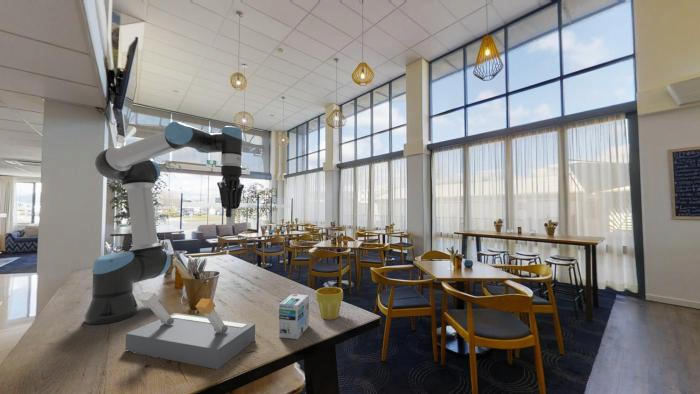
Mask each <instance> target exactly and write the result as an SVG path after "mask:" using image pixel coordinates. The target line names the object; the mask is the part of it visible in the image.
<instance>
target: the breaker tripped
mask: <svg viewBox="0 0 700 394" xmlns="http://www.w3.org/2000/svg"><path fill="white" fill-rule="evenodd" d="M195 308H196V310H197V311H198V312H199V313H200V314H204V317H207V319H208V320H209V322H210V323H211V324H212V326H213V327H214V331H216V332H223V333H225V332H226V331H227V329H228V327H227V326H225V324H224V323H223V321H222V320H221V319H222V318H221V317H220V315H219V314H218V312H217V311H216V309H215V308H216V304H215V302H214V301H213V299H211V298H203V297H202V298H200V300H199V301H198V302H197V304H196V305H195Z"/></svg>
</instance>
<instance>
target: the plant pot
mask: <svg viewBox="0 0 700 394" xmlns="http://www.w3.org/2000/svg"><path fill="white" fill-rule="evenodd" d="M343 299H344V291H343V289H342V288H341V287H336V286H326V287H320V288H318V289H316V290H315V301H316V302H317V303H318V309H319V313H320V316H321V317H320V318H321V319H323V320H335V319H337V318H338V317H339V316H340V309H341V305H342V304H341V303H342V301H343Z"/></svg>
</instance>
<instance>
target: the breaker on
mask: <svg viewBox="0 0 700 394" xmlns="http://www.w3.org/2000/svg"><path fill="white" fill-rule="evenodd" d="M138 301H139V302H141V304H143V306H146V307H148V308H149V309H150V310H151V311H152V312H153V313H154V315H155V316H156V317H157V318H158V320H159V319H160V320H161V323H164V324H172V323H173V322H174V319H173V318H171V316H170V315H171V314H169V313H168V311H167V310H166V309H165V308H164V306H163V305H162V304H161V303H160V298H159V296H158V295H157V294H156V292H152V291H151V292H149V291H146V292H145V293H144V294H143V295H142V296H140V298H139V299H138Z"/></svg>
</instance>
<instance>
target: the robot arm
mask: <svg viewBox="0 0 700 394" xmlns="http://www.w3.org/2000/svg"><path fill="white" fill-rule="evenodd" d="M183 148H192V149H194V150H196V151H197V152H199V153H200V154H201V153H202V154H209V153H221V155H220V156H221V158H220V161H221V163H220V165H221V167H220V168H221V169H220V175H221V176H222V179H221V181H218V182H216V185H217V187H218V190H219V197H220V202H221V207H222V208H223V209H224V210H225V219H226V224H225V225H226V226H235V224H236V210H238V209H239V207H240V205H241V198H242V194H243V189H244V187H245V185H244V184H243V183H242V184H241V180H240V177H242V174H243V173H242V164H243V161H242V155H243V154H242V153H243V152H242V149H243V131H242V129H241V128H240V127H237V126H233V125H225V126H223V127H221V132H218V133H216V132H215V133H210V132H208V131H206V130H202V129H199V128H197V127H193V126H192V125H188V124H186V123H183V122H179V121H171V122H169V123H168V124H167V125H166V126H165V129H164V131H161V132H159V133H156V134H153V135H150V136H148V137H144V138H143V139H142V138H141V139H139V140H136V141H134V142H131V143H128V144H126V145H123V146H121V147H119V146H111V147H109V148H107V149H104V150H103V151H102V150H101V151H100V153H98V154H97V156H96V157H95V161H94V164H95V165H94V166H95V168H96V170H97V172H98V173H99V174H100V175H101V176H103V177H104V178H106V179H109V180H113V181H121V187H122V188H124V189H125V190H126V192H127V193H126V194H127V201H128V202H127V203H128V210H129V219H130V229H131V230H130V231H131V237H132V238H131V239H132V246H131V248H130V249H129V250H128V251H119V252H112V253H108V254H104V255H101V256H99V257H97V258H96V259H95V260H94V262H93V267H92V271H91V273H92V295H91V301H90V304H89V306H88V307H87V311H86V313H85V315H84V323H85V322H86V323H85V324H86V325H87V324H88V325H105V324H111V323H116V322H119V321H123V320H126V319H129V318H131V317H133V316H135V315H136V314H138V311H139V310H138V309H139V307H138V303H137V300H136V298H135V295H134V293H133V292H134V291H133V289H134V284H135V283H140V282H143V281H147V280H151V279H155V278H157V277H160V276H163V275H164V274H165V273H166V272H167V271H168V270H169V268H170V266H171V262H172V260H171V259H172V258H171V254H170V253H169V252H168V250H166V249H164V248H163V244H161V243H160V242H159V240H158V234H157V225H156V217H155V208H154V207H155V206H154V200H153V199H154V197H153V189H154V188H155V186H156V182H158V181H159V180H160V178H159V177H160V176H161V169H160V168H161V167H160V166H159V164H158V163H157V161H155V160H154V158H157V157H160V156H163V155H167V154H169V153H172V152H174V151H178V150H181V149H183Z"/></svg>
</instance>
